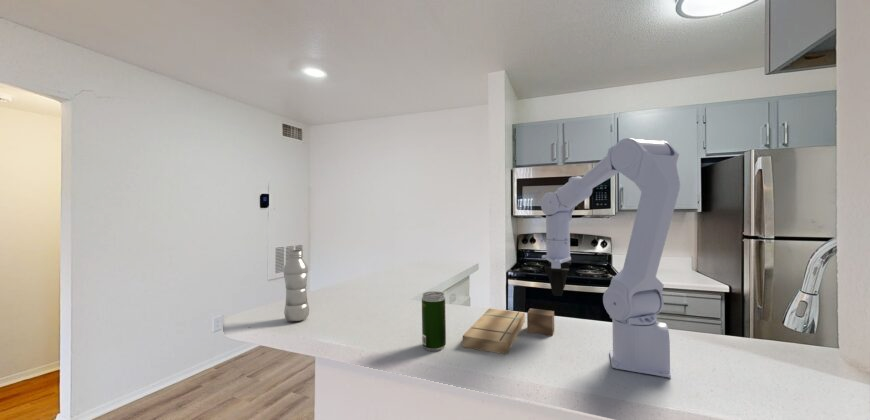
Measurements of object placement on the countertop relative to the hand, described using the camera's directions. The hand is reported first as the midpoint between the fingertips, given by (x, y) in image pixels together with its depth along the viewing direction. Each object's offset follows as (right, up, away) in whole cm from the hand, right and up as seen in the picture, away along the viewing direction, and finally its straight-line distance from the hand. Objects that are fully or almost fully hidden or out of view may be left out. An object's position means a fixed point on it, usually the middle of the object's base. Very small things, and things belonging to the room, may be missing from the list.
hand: (558, 291), depth 85 cm
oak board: (-17, -10, -3) cm, 19 cm away
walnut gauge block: (-5, -10, -2) cm, 11 cm away
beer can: (-32, -10, -10) cm, 35 cm away
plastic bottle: (-72, -11, +9) cm, 73 cm away
